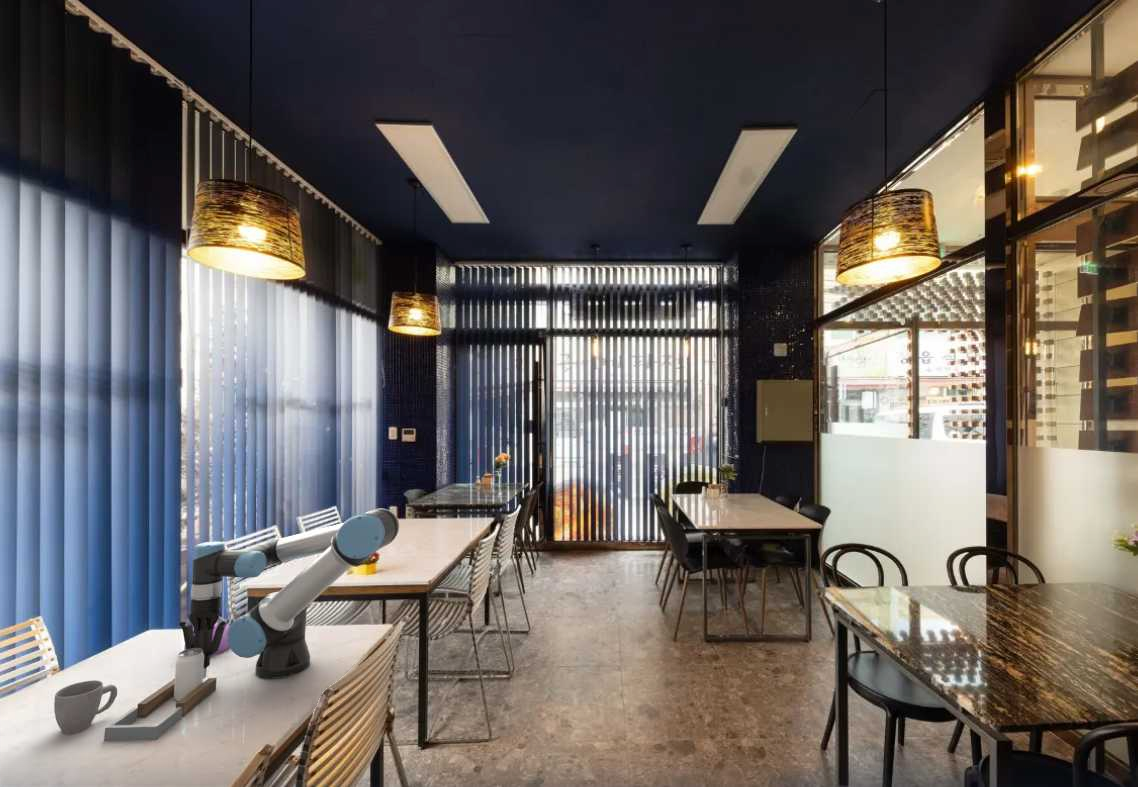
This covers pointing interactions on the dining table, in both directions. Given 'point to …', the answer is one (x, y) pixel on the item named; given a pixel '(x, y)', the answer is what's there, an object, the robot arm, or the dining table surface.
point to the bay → (140, 727)
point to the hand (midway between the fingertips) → (200, 678)
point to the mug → (80, 705)
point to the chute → (168, 692)
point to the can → (188, 672)
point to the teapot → (223, 643)
